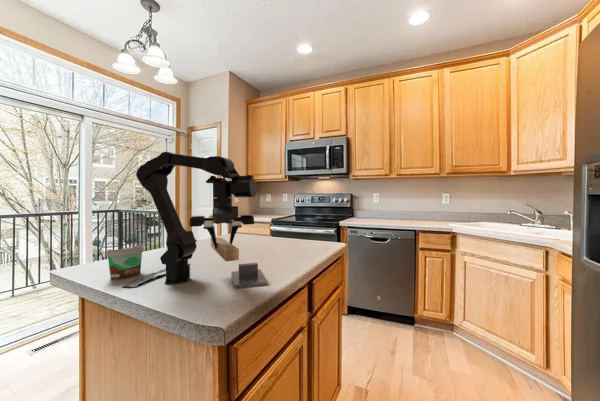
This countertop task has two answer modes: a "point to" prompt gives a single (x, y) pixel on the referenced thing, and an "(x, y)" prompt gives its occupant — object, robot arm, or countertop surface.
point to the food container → (125, 262)
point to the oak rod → (226, 249)
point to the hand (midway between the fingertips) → (223, 247)
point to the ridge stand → (248, 276)
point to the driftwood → (144, 279)
